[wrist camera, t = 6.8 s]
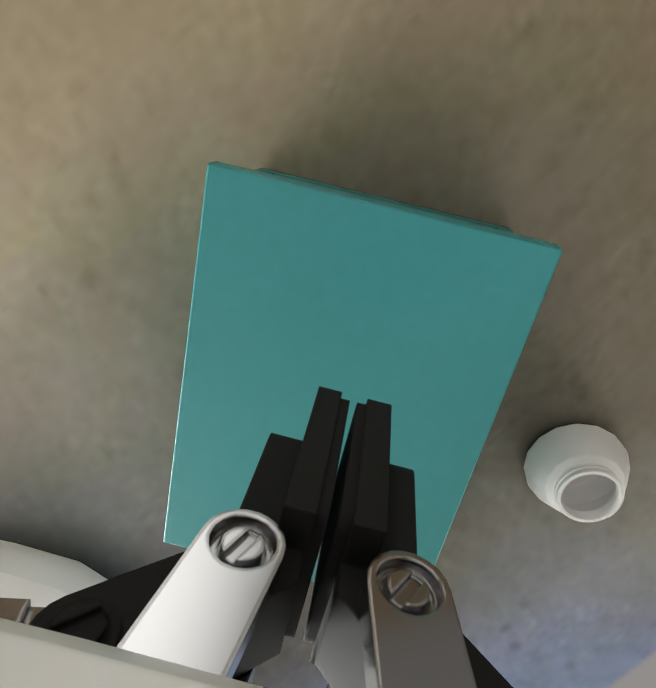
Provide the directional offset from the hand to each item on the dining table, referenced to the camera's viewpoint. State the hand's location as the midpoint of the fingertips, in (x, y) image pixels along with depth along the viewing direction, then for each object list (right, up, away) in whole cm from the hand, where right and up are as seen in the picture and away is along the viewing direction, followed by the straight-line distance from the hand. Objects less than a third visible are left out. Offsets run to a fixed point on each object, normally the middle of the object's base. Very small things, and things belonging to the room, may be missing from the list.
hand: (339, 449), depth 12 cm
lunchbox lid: (0, 0, +9) cm, 9 cm away
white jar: (+13, -4, +16) cm, 21 cm away
